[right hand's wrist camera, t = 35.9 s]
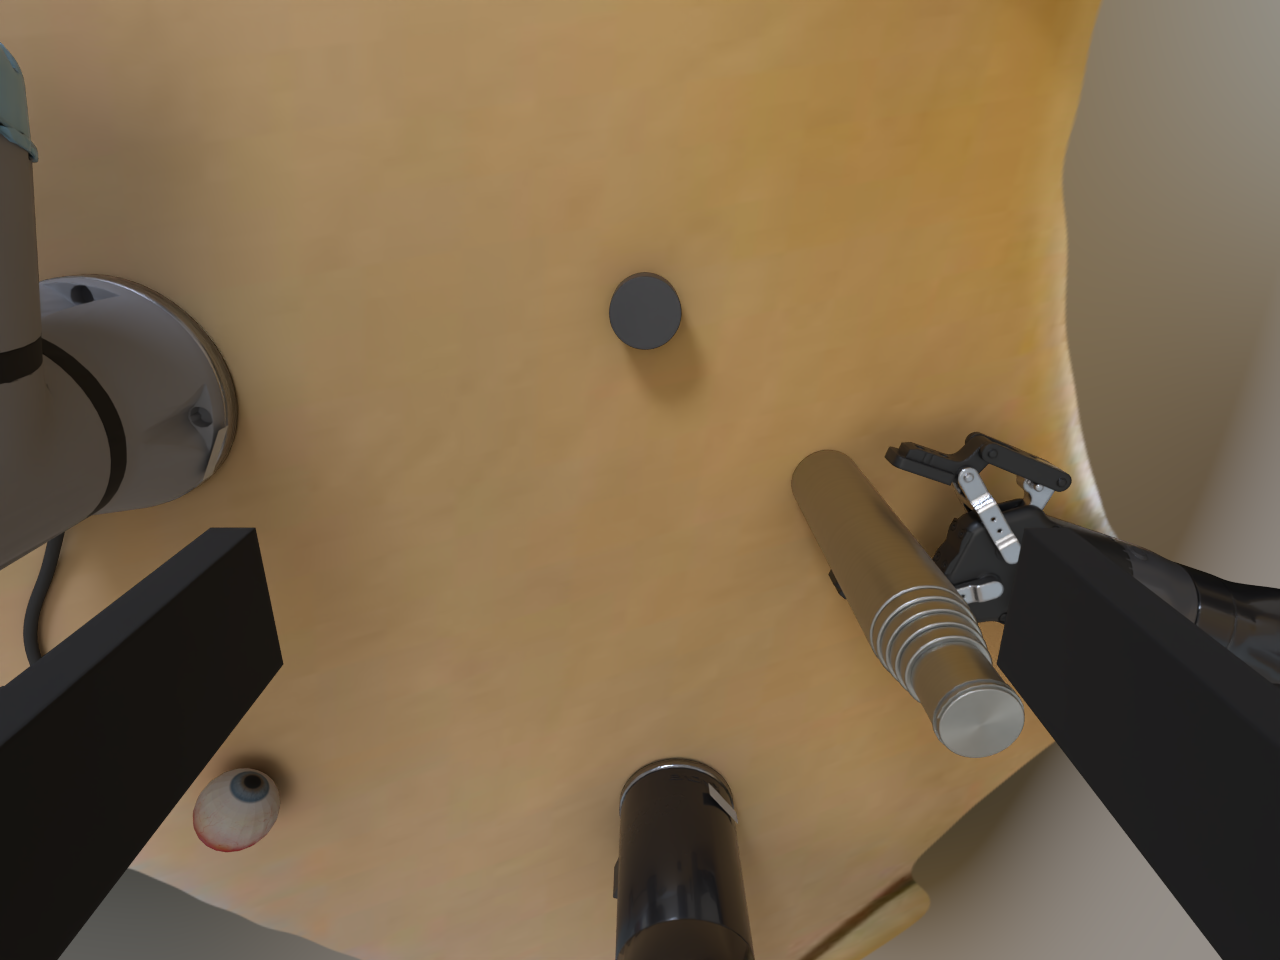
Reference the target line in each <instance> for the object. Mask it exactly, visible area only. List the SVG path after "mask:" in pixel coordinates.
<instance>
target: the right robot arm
mask: <svg viewBox="0 0 1280 960" xmlns="http://www.w3.org/2000/svg"><path fill="white" fill-rule="evenodd" d="M32 162H38V152H37V148H36V147H35V145H34V144H33V143H32V142H31V137H30V128H29V119H28V109H27V100H26V91H25V83H24V78H23V75H22V72H21V69H20V67H19V65H18V63H17V62H16V60H15V59H14V57H13V56H12V55H11V53H10V52H9V51H8V50H7V49H6V48H5V47H4V45H3V44H2V43H1V42H0V570H2V569H3V568H5V567H7V566H8V565H10V564H12V563H13V562H15V561H16V560H18V559H20V558H21V557H23V556H25V555H26V554H28V553H30V552H31V551H33V550H35V549H36V548H38V547H40V546H41V545H43V544H45V543H46V542H47V546H46V551H45V555H44V559H43V563H42V567H41V570H40V573H39V576H38V579H37V581H36V584H35V586H34V589H33V592H32V594H31V597H30V600H29V603H28V606H27V610H26V614H25V619H24V630H23V636H24V646H25V651H26V654H27V658H28V661H29V664H30V667H29V668H27V669H26V670H25V671H23V672H22V673H21V674H20V675H18V676H17V677H16V678H14V679H13V680H12V681H10V682H9V683H8V684H6V685H5V686H2V687H0V960H58V958H59V957H60V956H61V954H62V953H63V952H64V950H65V949H66V948H67V947H68V945H69V944H70V943H71V941H72V940H73V939H74V937H75V936H76V935H77V933H78V932H79V931H80V930H81V928H82V927H83V926H84V924H85V923H86V922H87V920H88V919H89V918H90V916H91V915H92V914H93V913H94V911H95V910H96V909H97V907H98V906H99V905H100V903H101V902H102V901H103V899H104V898H105V897H106V895H107V894H108V893H109V891H110V890H111V889H112V888H113V886H114V885H115V884H116V882H117V881H118V880H119V878H120V877H121V876H122V875H123V873H124V872H125V871H126V869H127V868H128V867H129V865H130V864H131V863H132V861H133V860H134V859H135V858H136V856H137V855H138V854H139V852H140V851H141V850H142V848H143V847H144V846H145V844H146V843H147V842H148V841H149V839H150V838H151V837H152V835H153V834H154V833H155V831H156V830H157V829H158V827H159V826H160V825H161V824H162V822H163V821H164V820H165V818H166V817H167V816H168V814H169V813H170V812H171V810H172V809H173V808H174V807H175V805H176V804H177V803H178V801H179V800H180V799H181V797H182V796H183V795H184V793H185V792H186V791H187V790H188V788H189V787H190V786H191V784H192V783H193V782H194V780H195V779H196V778H197V776H198V775H199V774H200V773H201V771H202V770H203V769H204V767H205V766H206V765H207V763H208V762H209V761H210V759H211V758H212V757H213V756H214V754H215V753H216V752H217V750H218V749H219V748H220V746H221V745H222V744H223V742H224V741H225V740H226V739H227V737H228V736H229V735H230V733H231V732H232V731H233V729H234V728H235V727H236V725H237V724H238V723H239V722H240V720H241V719H242V718H243V716H244V715H245V714H246V712H247V711H248V710H249V708H250V707H251V706H252V705H253V703H254V702H255V701H256V699H257V698H258V697H259V695H260V694H261V693H262V691H263V690H264V689H265V688H266V686H267V685H268V684H269V682H270V681H271V680H272V678H273V677H274V676H275V674H276V673H277V672H278V671H279V669H280V668H281V667H282V665H283V660H282V655H281V650H280V645H279V640H278V636H277V631H276V626H275V621H274V616H273V611H272V606H271V601H270V596H269V592H268V587H267V582H266V577H265V572H264V567H263V562H262V557H261V553H260V548H259V543H258V538H257V533H256V528H210V529H208V530H207V531H206V532H204V533H203V534H202V535H200V536H199V537H198V538H196V539H195V540H194V541H193V542H191V543H190V544H189V545H187V546H186V547H185V548H183V549H182V550H181V551H180V552H178V553H177V554H176V555H174V556H173V557H172V558H170V559H169V560H168V561H167V562H165V563H164V564H163V565H161V566H160V567H159V568H157V569H156V570H155V571H154V572H152V573H151V574H150V575H148V576H147V577H146V578H144V579H143V580H142V581H141V582H139V583H138V584H137V585H135V586H134V587H133V588H131V589H130V590H129V591H128V592H126V593H125V594H124V595H122V596H121V597H120V598H118V599H117V600H116V601H115V602H113V603H112V604H111V605H109V606H108V607H107V608H105V609H104V610H103V611H101V612H100V613H99V614H98V615H96V616H95V617H94V618H92V619H91V620H90V621H88V622H87V623H86V624H85V625H83V626H82V627H81V628H79V629H78V630H77V631H75V632H74V633H73V634H72V635H70V636H69V637H68V638H66V639H65V640H64V641H62V642H61V643H60V644H59V645H57V646H56V647H55V648H53V649H52V650H51V651H49V652H48V653H47V654H46V655H44V656H43V657H41V654H40V651H39V647H38V641H37V627H38V620H39V614H40V611H41V607H42V604H43V601H44V598H45V596H46V593H47V591H48V588H49V586H50V583H51V580H52V578H53V575H54V572H55V568H56V565H57V561H58V557H59V553H60V549H61V545H62V541H63V537H64V533H65V531H66V530H68V529H69V528H71V527H73V526H74V525H76V524H78V523H79V522H81V521H82V520H84V519H86V518H88V517H89V516H91V515H97V514H104V513H112V512H119V511H126V510H133V509H140V508H147V507H152V506H156V505H159V504H162V503H166V502H169V501H172V500H174V499H176V498H179V497H181V496H183V495H184V494H186V493H188V492H190V491H191V490H193V489H194V488H196V487H197V486H199V485H200V484H202V483H203V482H205V481H206V480H207V479H209V478H210V477H211V476H212V475H213V474H214V473H215V472H216V471H217V470H218V468H219V467H220V466H221V465H222V463H223V462H224V460H225V459H226V457H227V455H228V453H229V451H230V449H231V446H232V443H233V440H234V436H235V432H236V425H237V403H236V396H235V391H234V386H233V383H232V380H231V376H230V374H229V371H228V369H227V366H226V364H225V362H224V360H223V358H222V356H221V354H220V353H219V351H218V350H217V348H216V346H215V345H214V343H213V342H212V341H211V339H210V338H209V336H208V335H207V334H206V333H205V331H204V330H203V329H202V328H201V327H200V326H199V325H198V323H196V322H195V321H194V320H193V319H192V318H191V317H190V316H189V315H188V314H187V313H186V312H185V311H183V310H182V309H181V308H180V307H179V306H177V305H176V304H175V303H173V302H172V301H170V300H169V299H167V298H166V297H164V296H162V295H161V294H159V293H157V292H155V291H153V290H151V289H149V288H147V287H145V286H143V285H140V284H138V283H135V282H133V281H129V280H126V279H122V278H118V277H113V276H108V275H98V274H82V275H72V276H65V277H57V278H52V279H47V280H43V281H40V282H39V273H38V256H37V239H36V222H35V204H34V187H33V170H32ZM997 665H998V667H999V668H1000V669H1001V671H1002V672H1003V673H1004V674H1005V676H1006V677H1007V678H1008V680H1009V681H1010V682H1011V684H1012V685H1013V686H1014V688H1015V689H1016V690H1017V691H1018V693H1019V694H1020V695H1021V697H1022V698H1023V699H1024V701H1025V702H1026V703H1027V705H1028V706H1029V707H1030V708H1031V710H1032V711H1033V712H1034V714H1035V715H1036V716H1037V718H1038V719H1039V720H1040V722H1041V723H1042V724H1043V725H1044V727H1045V728H1046V729H1047V731H1048V732H1049V733H1050V735H1051V736H1052V737H1053V739H1054V740H1055V741H1056V742H1057V744H1058V745H1059V746H1060V748H1061V749H1062V750H1063V752H1064V753H1065V754H1066V756H1067V757H1068V758H1069V759H1070V761H1071V762H1072V763H1073V765H1074V766H1075V767H1076V769H1077V770H1078V771H1079V773H1080V774H1081V775H1082V776H1083V778H1084V779H1085V780H1086V782H1087V783H1088V784H1089V786H1090V787H1091V788H1092V790H1093V791H1094V792H1095V793H1096V795H1097V796H1098V797H1099V799H1100V800H1101V801H1102V803H1103V804H1104V805H1105V807H1106V808H1107V809H1108V810H1109V812H1110V813H1111V814H1112V816H1113V817H1114V818H1115V820H1116V821H1117V822H1118V824H1119V825H1120V826H1121V827H1122V829H1123V830H1124V831H1125V833H1126V834H1127V835H1128V837H1129V838H1130V839H1131V841H1132V842H1133V843H1134V844H1135V846H1136V847H1137V848H1138V850H1139V851H1140V852H1141V854H1142V855H1143V856H1144V858H1145V859H1146V860H1147V861H1148V863H1149V864H1150V865H1151V867H1152V868H1153V869H1154V871H1155V872H1156V873H1157V874H1158V876H1159V877H1160V878H1161V880H1162V881H1163V882H1164V884H1165V885H1166V886H1167V888H1168V889H1169V890H1170V892H1171V893H1172V894H1173V895H1174V897H1175V898H1176V899H1177V901H1178V902H1179V903H1180V905H1181V906H1182V907H1183V909H1184V910H1185V911H1186V913H1187V914H1188V915H1189V916H1190V918H1191V919H1192V920H1193V922H1194V923H1195V924H1196V926H1197V927H1198V928H1199V929H1200V931H1201V932H1202V933H1203V935H1204V936H1205V937H1206V939H1207V940H1208V941H1209V943H1210V944H1211V945H1212V946H1213V948H1214V949H1215V950H1216V952H1217V953H1218V954H1219V956H1220V957H1221V958H1222V960H1280V684H1278V683H1271V682H1270V681H1268V680H1267V679H1266V678H1264V677H1263V676H1262V675H1260V674H1259V673H1258V672H1257V671H1255V670H1254V669H1253V668H1251V667H1250V666H1249V665H1247V664H1246V663H1245V662H1244V661H1242V660H1241V659H1240V658H1238V657H1237V656H1236V655H1234V654H1233V653H1232V652H1231V651H1229V650H1228V649H1227V648H1225V647H1224V646H1223V645H1221V644H1220V643H1219V642H1218V641H1216V640H1215V639H1214V638H1212V637H1211V636H1210V635H1208V634H1207V633H1206V632H1205V631H1203V630H1202V629H1201V628H1199V627H1198V626H1197V625H1195V624H1194V623H1193V622H1192V621H1190V620H1189V619H1188V618H1186V617H1185V616H1184V615H1182V614H1181V613H1180V612H1179V611H1177V610H1176V609H1175V608H1173V607H1172V606H1171V605H1169V604H1168V603H1167V602H1165V601H1164V600H1163V599H1162V598H1160V597H1159V596H1158V595H1156V594H1155V593H1154V592H1152V591H1151V590H1150V589H1149V588H1147V587H1146V586H1145V585H1143V584H1142V583H1141V582H1139V581H1138V580H1137V579H1136V578H1134V577H1133V576H1132V575H1130V574H1129V573H1128V572H1126V571H1125V570H1124V569H1123V568H1121V567H1120V566H1119V565H1117V564H1116V563H1115V562H1113V561H1112V560H1111V559H1110V558H1108V557H1107V556H1106V555H1104V554H1103V553H1102V552H1100V551H1099V550H1098V549H1097V548H1095V547H1094V546H1093V545H1091V544H1090V543H1089V542H1087V541H1086V540H1085V539H1084V538H1082V537H1081V536H1080V535H1078V534H1077V533H1076V532H1074V531H1073V530H1072V529H1070V528H1024V533H1023V538H1022V543H1021V548H1020V553H1019V557H1018V562H1017V567H1016V572H1015V577H1014V582H1013V587H1012V592H1011V596H1010V601H1009V606H1008V611H1007V616H1006V621H1005V626H1004V631H1003V636H1002V640H1001V645H1000V650H999V655H998V660H997Z"/></svg>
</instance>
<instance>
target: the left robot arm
mask: <svg viewBox="0 0 1280 960" xmlns="http://www.w3.org/2000/svg"><path fill="white" fill-rule="evenodd" d="M885 458H886V459H887V460H888V461H889V462H890V463H891V464H892V465H893V466H895V467H897V468H900V469H902V470H905V471H908V472H911V473H914V474H917V475H920V476H923V477H926V478H929V479H932V480H935V481H938V482H941V483H944V484H947V485H951V483H952V485H953V487H954V489H955V490H954V491H955V493H956V495H957V497H958V499H959V500H960V502H961V504H962V506H963V507H964V509H965V511H966V513H965V514H964V515H962V516H961V517H960V518H959V519H956V518H954V520H953V521H952V523H951V525H950V527H949V530H948V534H947V538H946V541H945V542H944V543H943V544H942V545H941V546H940V547H939V548H938V550H937V551H936V553H935V555H934V557H933V559H932V560H933V561H934V562H935V564H936V565H937V566H938V567H939V569H940V570H941V571H942V572H943V574H944V575H945V576H946V577H947V579H948V580H949V581H950V582H951V584H952V585H953V586H954V587H955V589H956V590H957V591H958V592H959V594H960V595H961V596H962V597H963V599H964V600H965V601H966V602H967V604H968V606H969V607H970V610H971V611H972V613H973V614H974V616H975V618H976V620H977V623H979V622H986V621H996V622H1000V623H1002V624H1005V621H1006V616H1007V611H1008V606H1009V601H1010V596H1011V592H1012V587H1013V582H1014V577H1015V572H1016V567H1017V562H1018V557H1019V553H1020V548H1021V543H1022V538H1023V533H1024V528H1070V529H1072V530H1073V531H1074V532H1076V533H1077V534H1078V535H1080V536H1081V537H1082V538H1084V539H1085V540H1086V541H1087V542H1089V543H1090V544H1091V545H1093V546H1094V547H1095V548H1097V549H1098V550H1099V551H1100V552H1102V553H1103V554H1104V555H1106V556H1107V557H1108V558H1110V559H1111V560H1112V561H1113V562H1115V563H1116V564H1117V565H1119V566H1120V567H1121V568H1123V569H1124V570H1125V571H1126V572H1128V573H1129V574H1130V575H1132V576H1133V577H1134V578H1136V579H1137V580H1138V581H1139V582H1141V583H1142V584H1143V585H1145V586H1146V587H1147V588H1149V589H1150V590H1151V591H1152V592H1154V593H1155V594H1156V595H1158V596H1159V597H1160V598H1162V599H1163V600H1164V601H1165V602H1167V603H1168V604H1169V605H1171V606H1172V607H1173V608H1175V609H1176V610H1177V611H1179V612H1180V613H1181V614H1182V615H1184V616H1185V617H1186V618H1188V619H1189V620H1190V621H1192V622H1193V623H1194V624H1195V625H1197V626H1198V627H1199V628H1201V629H1202V630H1203V631H1205V632H1206V633H1207V634H1208V635H1210V636H1211V637H1212V638H1214V639H1215V640H1216V641H1218V642H1219V643H1220V644H1221V645H1223V646H1224V647H1225V648H1227V649H1228V650H1229V651H1231V652H1232V653H1233V654H1234V655H1236V656H1237V657H1238V658H1240V659H1241V660H1242V661H1244V662H1245V663H1246V664H1247V665H1249V666H1250V667H1251V668H1253V669H1254V670H1255V671H1257V672H1258V673H1259V674H1260V675H1262V676H1263V677H1264V678H1266V679H1267V680H1268V681H1270V682H1271V683H1278V684H1280V589H1277V588H1270V587H1263V586H1255V585H1247V584H1241V583H1235V582H1230V581H1227V580H1224V579H1221V578H1219V577H1216V576H1214V575H1211V574H1208V573H1206V572H1203V571H1200V570H1197V569H1194V568H1191V567H1188V566H1185V565H1182V564H1179V563H1176V562H1172V561H1170V560H1168V559H1165V558H1164V557H1162V556H1160V555H1158V554H1156V553H1154V552H1152V551H1150V550H1147V549H1145V548H1142V547H1140V546H1137V545H1135V544H1132V543H1128V542H1125V541H1123V540H1120V539H1117V538H1114V537H1111V536H1108V535H1105V534H1102V533H1099V532H1096V531H1093V530H1090V529H1087V528H1084V527H1081V526H1078V525H1075V524H1072V523H1069V522H1066V521H1063V520H1060V519H1057V518H1054V517H1051V516H1048V515H1045V513H1044V512H1043V511H1042V510H1043V508H1044V507H1045V505H1046V504H1047V502H1048V501H1049V499H1050V497H1051V496H1052V494H1053V493H1054V491H1057V492H1061V491H1064V490H1066V489H1067V488H1068V487H1069V486H1070V485H1071V481H1072V480H1071V477H1070V475H1069V474H1067V473H1065V472H1064V471H1062V470H1061V469H1059V468H1058V467H1056V466H1054V465H1053V464H1051V463H1049V462H1048V461H1046V460H1044V459H1041V458H1039V457H1037V456H1034V455H1032V454H1030V453H1027V452H1025V451H1022V450H1020V449H1018V448H1015V447H1013V446H1011V445H1008V444H1006V443H1003V442H1001V441H999V440H996V439H994V438H992V437H989V436H987V435H985V434H982V433H980V432H973V433H971V434H969V435H968V436H967V438H966V440H965V445H964V446H963V447H962V448H961V449H960V450H959V451H958V452H956V453H954V454H944V453H941V452H938V451H935V450H932V449H929V448H926V447H923V446H921V445H918V444H915V443H912V442H904V443H901V445H900V447H899V449H898V448H895V447H891V446H890V447H889V449H888V451H887V453H886V455H885ZM988 464H992V465H994V466H997V467H999V468H1001V469H1004V470H1006V471H1009V472H1011V473H1013V474H1016V475H1017V479H1016V481H1017V484H1018V485H1019V486H1020V487H1021V488H1023V490H1024V493H1025V494H1024V498H1023V499H1014V500H1010V501H1006V502H1003V503H999V504H997V503H996V501H995V500H994V498H993V497H992V496H991V495H990V493H989V492H988V490H987V488H986V486H985V484H984V483H983V481H982V479H981V477H980V475H979V473H980V472H981V471H982V470H983V469H984V468H985V467H986V466H987V465H988ZM829 577H830V579H831V581H832V582H833V584H834V586H835V587H836V589H837V591H838V593H839V594H840V595H841V596H842V597H843V598H844V599H846V597H845V595H844V593H843V591H842V589H841V587H840V585H839V583H838V581H837V579H836V577H835V575H834V573H833V571H832V569H831V570H830V572H829ZM619 811H620V840H619V858H618V860H617V862H616V865H615V867H614V889H613V897H614V898H617V929H616V959H615V960H755V957H754V950H753V944H752V937H751V930H750V923H749V916H748V910H747V903H746V896H745V889H744V883H743V876H742V869H741V862H740V855H739V849H738V842H737V834H736V827H735V821H736V822H737V824H738V820H737V814H736V811H735V810H734V806H733V799H732V794H731V791H730V788H729V786H728V784H727V783H726V781H725V780H724V779H723V777H722V776H721V775H720V774H719V773H717V772H716V771H715V770H713V769H712V768H710V767H708V766H706V765H704V764H701V763H698V762H695V761H691V760H684V759H670V760H663V761H659V762H655V763H652V764H650V765H648V766H646V767H644V768H642V769H640V770H639V771H638V772H636V773H635V774H634V775H633V776H632V777H631V778H630V779H629V780H628V781H627V783H626V784H625V786H624V788H623V790H622V793H621V797H620V809H619ZM734 820H735V821H734Z"/></svg>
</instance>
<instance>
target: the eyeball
mask: <svg viewBox="0 0 1280 960" xmlns="http://www.w3.org/2000/svg"><path fill="white" fill-rule="evenodd" d="M279 808H280V796H279V790H278V788H277V786H276V785H275V783H274V781H273V780H272V779H271V778H270V777H269V776H268V775H267V774H265V773H263V772H261V771H259V770H255V769H250V768H238V769H234V770H231V771H228V772H225V773H223V774H221V775H220V776H218V777H217V778H215V779H214V780H212V781H211V782H210V783H209V784H208V785H207V786H206V787H205V789H204V790H203V791H202V792H201V794H200V795H199V797H198V799H197V802H196V805H195V808H194V811H193V825H194V829H195V831H196V834H197V836H198V838H199V839H200V840H201V841H202V842H203V843H204V844H205V845H206V846H208V847H210V848H212V849H214V850H216V851H222V852H233V851H240V850H243V849H245V848H248V847H250V846H252V845H254V844H255V843H257V842H258V841H259V840H261V839H262V838H263V837H264V836H265V835H267V833H268V832H269V831H270V829H271V827H272V826H273V824H274V823H275V821H276V819H277V816H278V812H279Z"/></svg>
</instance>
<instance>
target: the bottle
mask: <svg viewBox="0 0 1280 960" xmlns="http://www.w3.org/2000/svg"><path fill="white" fill-rule="evenodd" d="M792 492H793V495H794V497H795V499H796V501H797V503H798V505H799V507H800V509H801V511H802V513H803V515H804V517H805V519H806V521H807V522H808V524H809V526H810V528H811V530H812V532H813V534H814V536H815V538H816V540H817V542H818V544H819V546H820V548H821V550H822V552H823V554H824V556H825V558H826V560H827V562H828V564H829V566H830V568H831V569H832V571H833V573H834V575H835V577H836V579H837V581H838V583H839V585H840V587H841V589H842V591H843V593H844V595H845V597H846V599H847V601H848V603H849V605H850V607H851V609H852V611H853V613H854V615H855V617H856V618H857V620H858V622H859V624H860V626H861V628H862V630H863V632H864V634H865V636H866V638H867V640H868V642H869V644H870V646H871V648H872V650H873V652H874V653H875V655H876V656H877V658H878V659H879V660H880V662H881V663H882V665H883V666H884V667H885V668H886V670H887V671H889V672H890V673H891V675H892V676H893V677H894V678H895V679H896V680H897V681H898V682H899V683H900V684H901V685H902V687H903V688H904V689H905V690H907V691H908V692H909V693H910V695H911V696H912V697H913V698H914V699H915V700H917V701H918V702H920V703H921V704H922V706H923V708H924V710H925V711H926V713H927V715H928V717H929V719H930V720H931V722H932V725H933V730H934V732H935V734H936V736H937V738H938V739H939V741H941V742H942V743H943V744H944V745H945V746H946V747H947V748H948V749H949V750H951V751H952V752H954V753H956V754H958V755H961V756H964V757H970V758H980V757H987V756H990V755H993V754H996V753H998V752H1000V751H1002V750H1004V749H1006V748H1007V747H1008V746H1010V745H1011V744H1012V743H1013V742H1014V741H1015V740H1016V739H1017V737H1018V736H1019V734H1020V733H1021V731H1022V729H1023V725H1024V707H1023V704H1022V702H1021V700H1020V698H1019V696H1018V695H1017V694H1016V692H1015V691H1014V690H1013V689H1012V688H1011V687H1010V686H1009V685H1008V684H1006V683H1005V682H1004V681H1003V679H1002V678H1001V677H1000V675H999V674H998V673H997V671H996V670H995V669H994V667H993V664H992V658H991V656H990V653H989V652H988V649H987V645H986V643H985V641H984V639H983V636H982V633H981V630H980V628H979V626H978V623H977V620H976V618H975V616H974V614H973V613H972V611H971V610H970V607H969V606H968V604H967V602H966V601H965V600H964V599H963V597H962V596H961V595H960V594H959V592H958V591H957V590H956V589H955V587H954V586H953V585H952V584H951V582H950V581H949V580H948V579H947V577H946V576H945V575H944V574H943V572H942V571H941V570H940V569H939V567H938V566H937V565H936V564H935V563H934V561H933V560H932V559H931V558H930V556H929V555H928V554H927V553H926V551H925V550H924V549H923V548H922V546H921V545H920V544H919V543H918V541H917V540H916V539H915V538H914V536H913V535H912V534H911V533H910V531H909V530H908V529H907V528H906V526H905V525H904V524H903V523H902V521H901V520H900V519H899V518H898V516H897V515H896V514H895V513H894V511H893V510H892V509H891V508H890V506H889V505H888V504H887V503H886V501H885V500H884V499H883V498H882V497H881V495H880V494H879V493H878V492H877V490H876V489H875V488H874V487H873V485H872V484H871V483H870V482H869V480H868V479H867V478H866V477H865V475H864V474H863V473H862V472H861V470H860V469H859V468H858V467H857V465H856V464H855V463H854V462H853V460H852V459H851V458H849V457H848V456H847V455H845V454H843V453H841V452H838V451H833V450H823V451H819V452H815V453H813V454H811V455H809V456H808V457H806V458H805V459H804V460H802V461H801V462H800V464H799V465H798V466H797V468H796V469H795V471H794V474H793V477H792Z"/></svg>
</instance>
